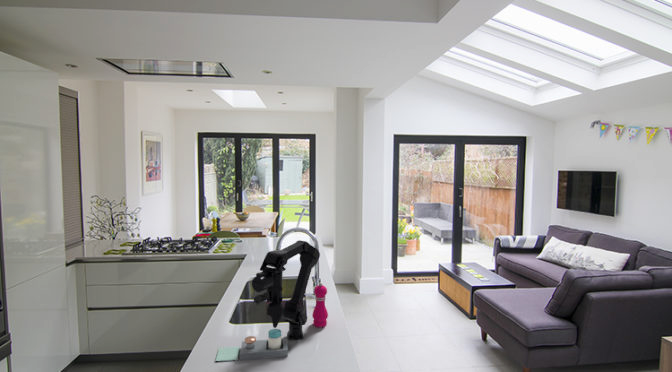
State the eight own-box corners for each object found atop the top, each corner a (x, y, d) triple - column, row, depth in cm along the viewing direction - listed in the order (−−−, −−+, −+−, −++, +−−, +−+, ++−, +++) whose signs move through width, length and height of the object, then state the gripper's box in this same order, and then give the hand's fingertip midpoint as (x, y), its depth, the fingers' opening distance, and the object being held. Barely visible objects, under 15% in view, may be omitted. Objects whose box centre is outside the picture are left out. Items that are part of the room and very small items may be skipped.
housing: (242, 347, 143) (242, 341, 143) (286, 344, 146) (286, 338, 146) (240, 360, 134) (240, 353, 134) (287, 356, 137) (287, 350, 137)
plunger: (245, 350, 141) (244, 336, 140) (256, 349, 142) (256, 335, 141) (244, 356, 136) (244, 342, 136) (255, 355, 137) (255, 341, 137)
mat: (219, 349, 141) (219, 348, 141) (239, 347, 143) (239, 346, 143) (215, 362, 132) (215, 360, 132) (237, 360, 134) (237, 359, 134)
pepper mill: (310, 322, 166) (310, 280, 164) (324, 319, 169) (325, 279, 167) (315, 329, 159) (316, 286, 158) (330, 326, 162) (330, 284, 161)
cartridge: (268, 348, 143) (268, 329, 142) (280, 347, 144) (281, 328, 143) (268, 355, 138) (268, 335, 137) (281, 354, 139) (281, 334, 138)
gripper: (255, 276, 146) (255, 313, 147) (252, 293, 128) (252, 335, 129) (282, 275, 148) (282, 311, 149) (283, 292, 130) (283, 333, 131)
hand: (274, 322), depth 140 cm, fingers open, 9 cm apart
